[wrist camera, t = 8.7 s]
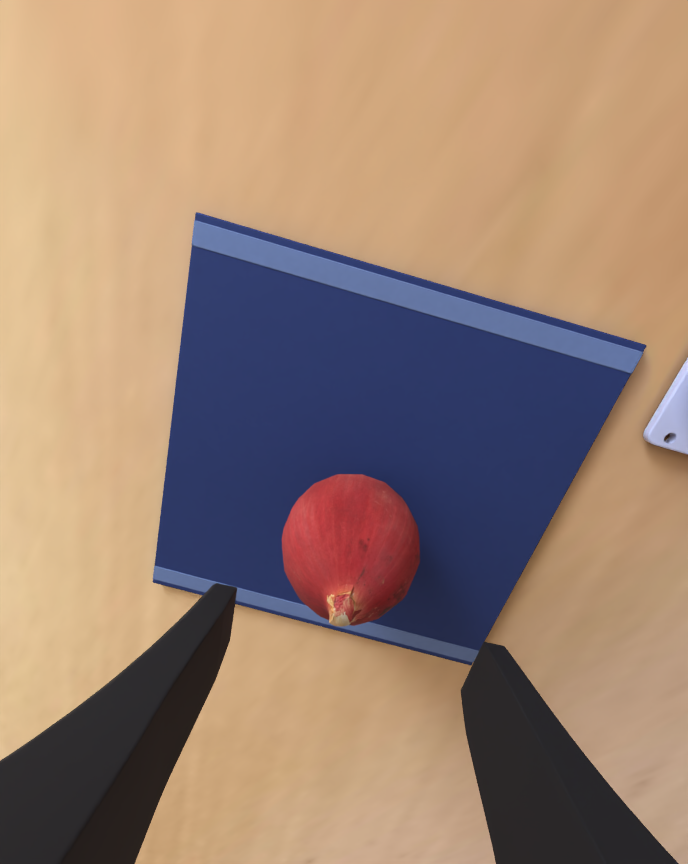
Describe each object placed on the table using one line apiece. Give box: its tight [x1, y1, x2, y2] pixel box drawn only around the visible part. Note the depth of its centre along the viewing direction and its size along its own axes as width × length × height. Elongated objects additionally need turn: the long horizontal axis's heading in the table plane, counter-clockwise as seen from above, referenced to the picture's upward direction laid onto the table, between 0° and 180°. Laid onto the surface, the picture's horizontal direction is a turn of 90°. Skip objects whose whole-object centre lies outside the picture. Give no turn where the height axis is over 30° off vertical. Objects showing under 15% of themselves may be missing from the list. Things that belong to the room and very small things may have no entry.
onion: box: [282, 474, 420, 627], centre depth 15 cm, size 6×6×8 cm
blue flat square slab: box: [153, 213, 646, 665], centre depth 19 cm, size 20×20×1 cm
